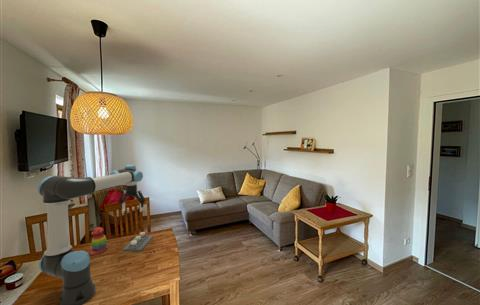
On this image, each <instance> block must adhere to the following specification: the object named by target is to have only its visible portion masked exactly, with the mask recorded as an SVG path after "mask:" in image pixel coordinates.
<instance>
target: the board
mask: <svg viewBox="0 0 480 305" xmlns="http://www.w3.org/2000/svg"><path fill="white" fill-rule="evenodd" d="M153 238H154V237H153V235H151V236H149V234H145V237H143V238H141V241H139V242H137V245H136V246H131V241H130V242H128V244H126V245H125V246H124V247H123V248H122V252H142V251H143V250H144V248H145V247H146V246H147V245H148V244H149V243H150V242H151V240H153ZM132 240H136V236H135V237H134V238H133V239H132Z"/></svg>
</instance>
